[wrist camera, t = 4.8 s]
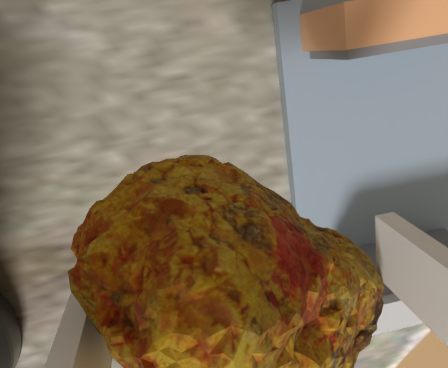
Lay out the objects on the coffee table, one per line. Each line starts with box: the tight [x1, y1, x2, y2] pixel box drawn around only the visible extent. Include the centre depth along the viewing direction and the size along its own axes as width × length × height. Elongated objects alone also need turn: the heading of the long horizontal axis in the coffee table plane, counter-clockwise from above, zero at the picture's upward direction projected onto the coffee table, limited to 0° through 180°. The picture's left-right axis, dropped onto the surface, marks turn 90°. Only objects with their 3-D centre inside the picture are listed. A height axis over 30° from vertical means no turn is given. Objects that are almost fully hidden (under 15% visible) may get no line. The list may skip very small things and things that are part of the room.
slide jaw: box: [300, 0, 448, 60], centre depth 25 cm, size 12×3×7 cm, turn 99°
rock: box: [68, 155, 384, 368], centre depth 14 cm, size 11×8×10 cm
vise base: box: [272, 0, 448, 335], centre depth 28 cm, size 15×23×8 cm, turn 8°
